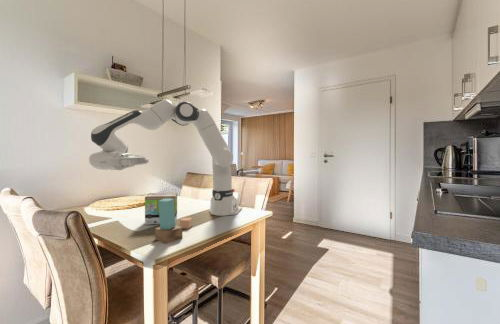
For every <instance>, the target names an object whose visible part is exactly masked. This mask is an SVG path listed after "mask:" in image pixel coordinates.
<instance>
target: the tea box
mask: <svg viewBox="0 0 500 324" xmlns="http://www.w3.org/2000/svg"><path fill="white" fill-rule="evenodd" d="M162 199H174V211H175V223H176V222H177V219H178V192H155V193H154V192H153V193H152V192H151V193H148V194H147V195H146V196H144V225H145V226H147V225H160V219H159V205H158V201H160V200H162Z"/></svg>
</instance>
